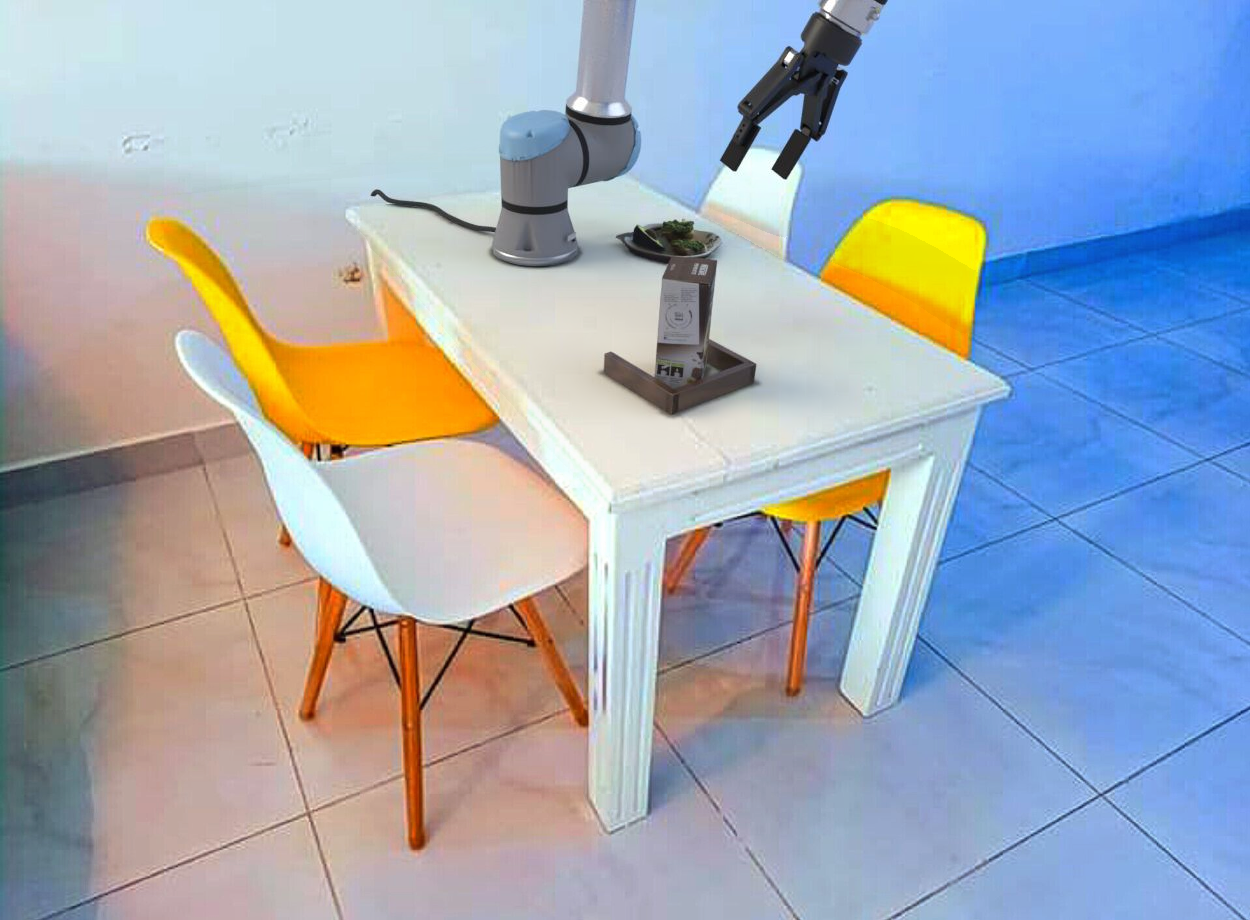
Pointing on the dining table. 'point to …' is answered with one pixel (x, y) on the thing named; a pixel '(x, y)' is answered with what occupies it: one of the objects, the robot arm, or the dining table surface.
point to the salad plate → (670, 241)
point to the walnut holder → (675, 400)
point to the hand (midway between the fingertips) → (754, 170)
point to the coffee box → (684, 320)
